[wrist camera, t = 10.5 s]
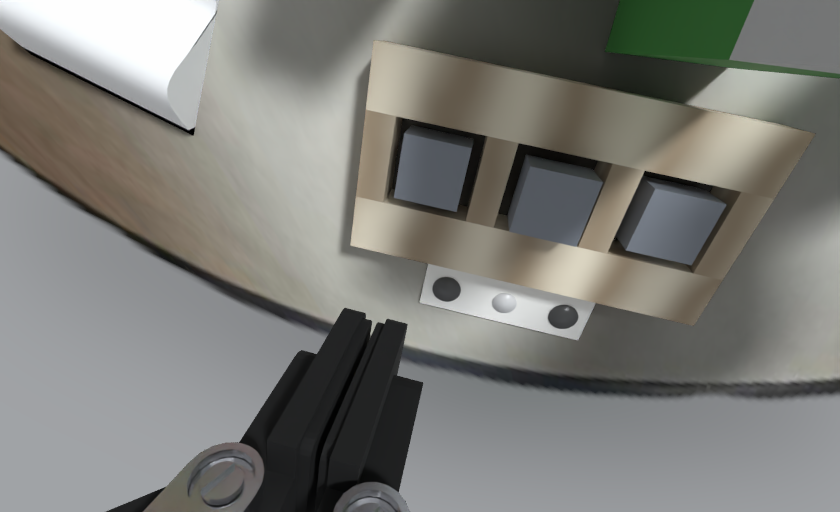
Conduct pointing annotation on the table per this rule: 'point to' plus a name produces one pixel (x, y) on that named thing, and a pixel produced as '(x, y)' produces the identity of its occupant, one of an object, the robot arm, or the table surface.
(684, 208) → the button
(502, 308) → the pattern card
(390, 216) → the button board
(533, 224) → the middle button
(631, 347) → the table surface
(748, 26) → the hardback book
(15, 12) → the file organizer
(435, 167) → the button
